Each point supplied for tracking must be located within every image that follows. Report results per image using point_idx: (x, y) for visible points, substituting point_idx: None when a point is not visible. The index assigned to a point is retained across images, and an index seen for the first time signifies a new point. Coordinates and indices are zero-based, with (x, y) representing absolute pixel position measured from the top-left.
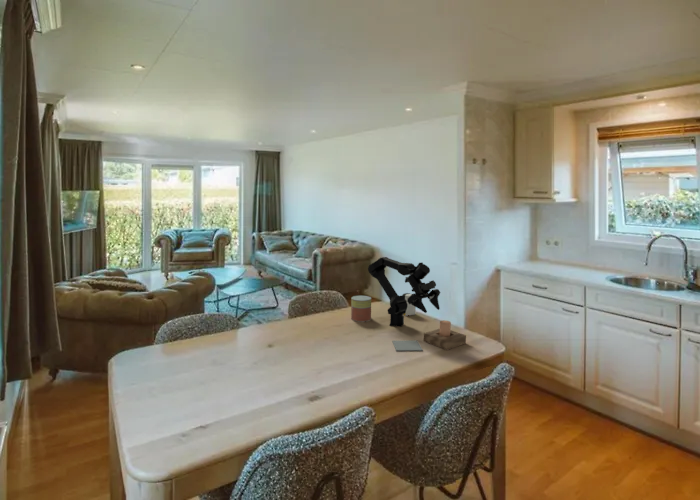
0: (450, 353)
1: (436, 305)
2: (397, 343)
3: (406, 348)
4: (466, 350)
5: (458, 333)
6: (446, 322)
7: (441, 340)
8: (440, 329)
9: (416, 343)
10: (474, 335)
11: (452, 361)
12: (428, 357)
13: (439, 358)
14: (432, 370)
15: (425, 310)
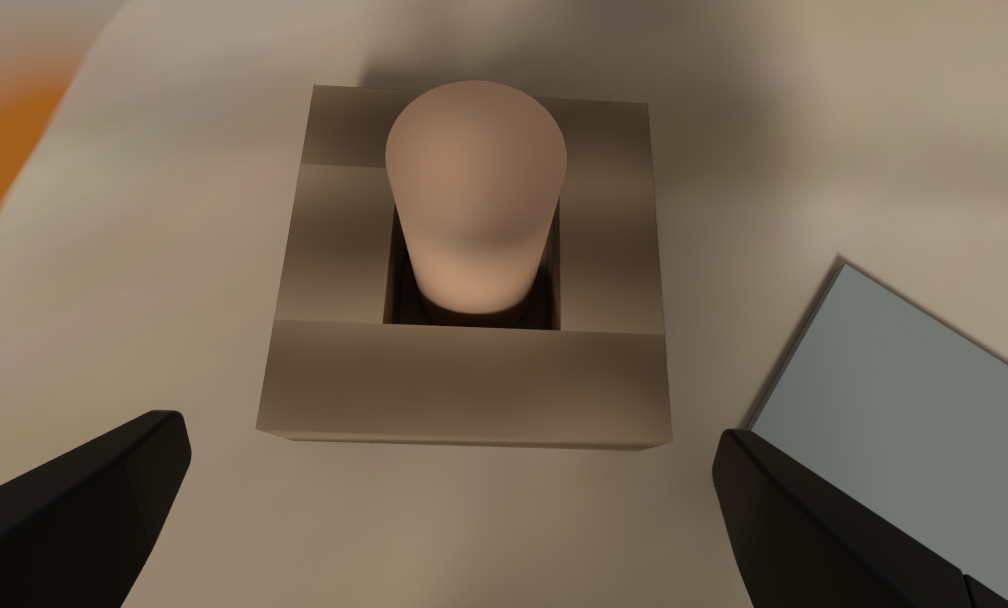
0: (655, 97)
1: (89, 547)
2: (995, 566)
3: (977, 386)
4: (488, 56)
5: (324, 163)
6: (480, 131)
7: (649, 172)
8: (546, 238)
9: (793, 420)
10: (35, 211)
11: (761, 12)
12: (879, 154)
13: (810, 93)
14: (993, 13)
15: (785, 456)
